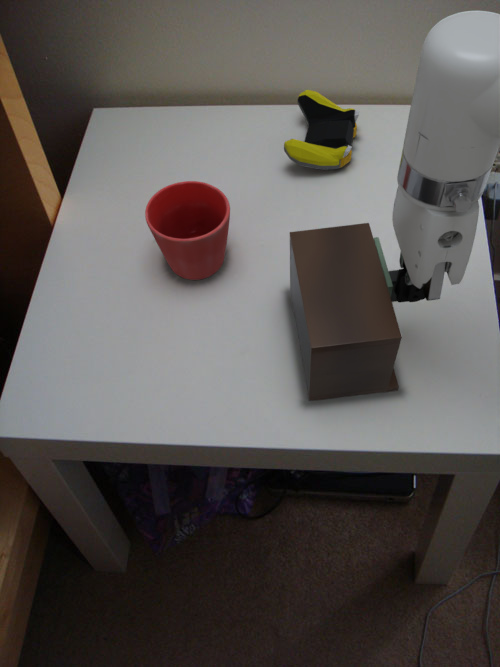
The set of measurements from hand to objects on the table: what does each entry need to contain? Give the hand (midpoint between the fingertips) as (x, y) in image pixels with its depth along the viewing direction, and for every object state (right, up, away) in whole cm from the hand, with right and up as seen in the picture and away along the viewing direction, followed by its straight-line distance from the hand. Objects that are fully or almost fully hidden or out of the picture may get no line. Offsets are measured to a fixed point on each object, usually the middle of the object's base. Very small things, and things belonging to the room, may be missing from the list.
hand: (409, 295), depth 67 cm
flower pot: (-25, +6, +17) cm, 31 cm away
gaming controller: (-6, +25, +28) cm, 38 cm away
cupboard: (-7, -5, +8) cm, 12 cm away
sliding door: (0, -1, +9) cm, 9 cm away
